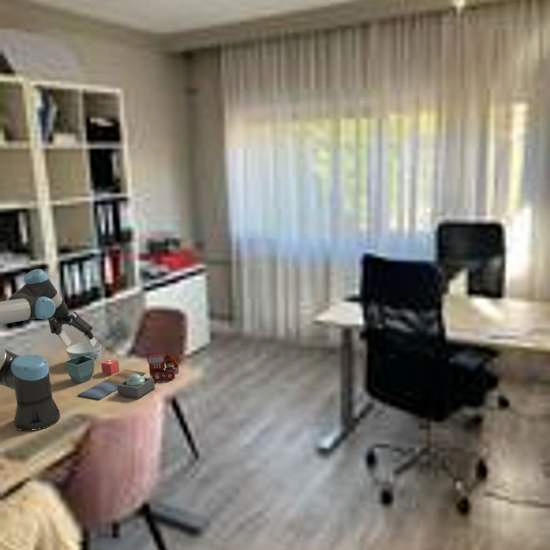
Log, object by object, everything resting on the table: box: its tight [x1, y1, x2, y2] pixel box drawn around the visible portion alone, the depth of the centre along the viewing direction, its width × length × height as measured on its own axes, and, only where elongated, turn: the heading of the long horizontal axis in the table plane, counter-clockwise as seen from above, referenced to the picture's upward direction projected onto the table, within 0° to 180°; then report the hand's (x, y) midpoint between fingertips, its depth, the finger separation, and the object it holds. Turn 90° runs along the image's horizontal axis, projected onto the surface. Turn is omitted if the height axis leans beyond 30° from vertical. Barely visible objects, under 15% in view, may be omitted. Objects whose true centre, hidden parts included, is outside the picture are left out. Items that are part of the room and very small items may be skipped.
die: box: [100, 358, 120, 376], centre depth 249 cm, size 5×5×5 cm
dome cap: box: [126, 374, 145, 387], centre depth 227 cm, size 7×7×5 cm
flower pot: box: [64, 356, 95, 384], centre depth 242 cm, size 9×9×9 cm
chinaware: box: [66, 341, 102, 362], centre depth 262 cm, size 15×15×8 cm
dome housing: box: [117, 376, 156, 400], centre depth 227 cm, size 10×10×4 cm
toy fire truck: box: [146, 353, 180, 383], centre depth 240 cm, size 7×12×10 cm, turn 100°
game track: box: [77, 369, 146, 401], centre depth 237 cm, size 28×11×1 cm, turn 154°
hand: (81, 344), depth 234 cm, fingers open, 13 cm apart
